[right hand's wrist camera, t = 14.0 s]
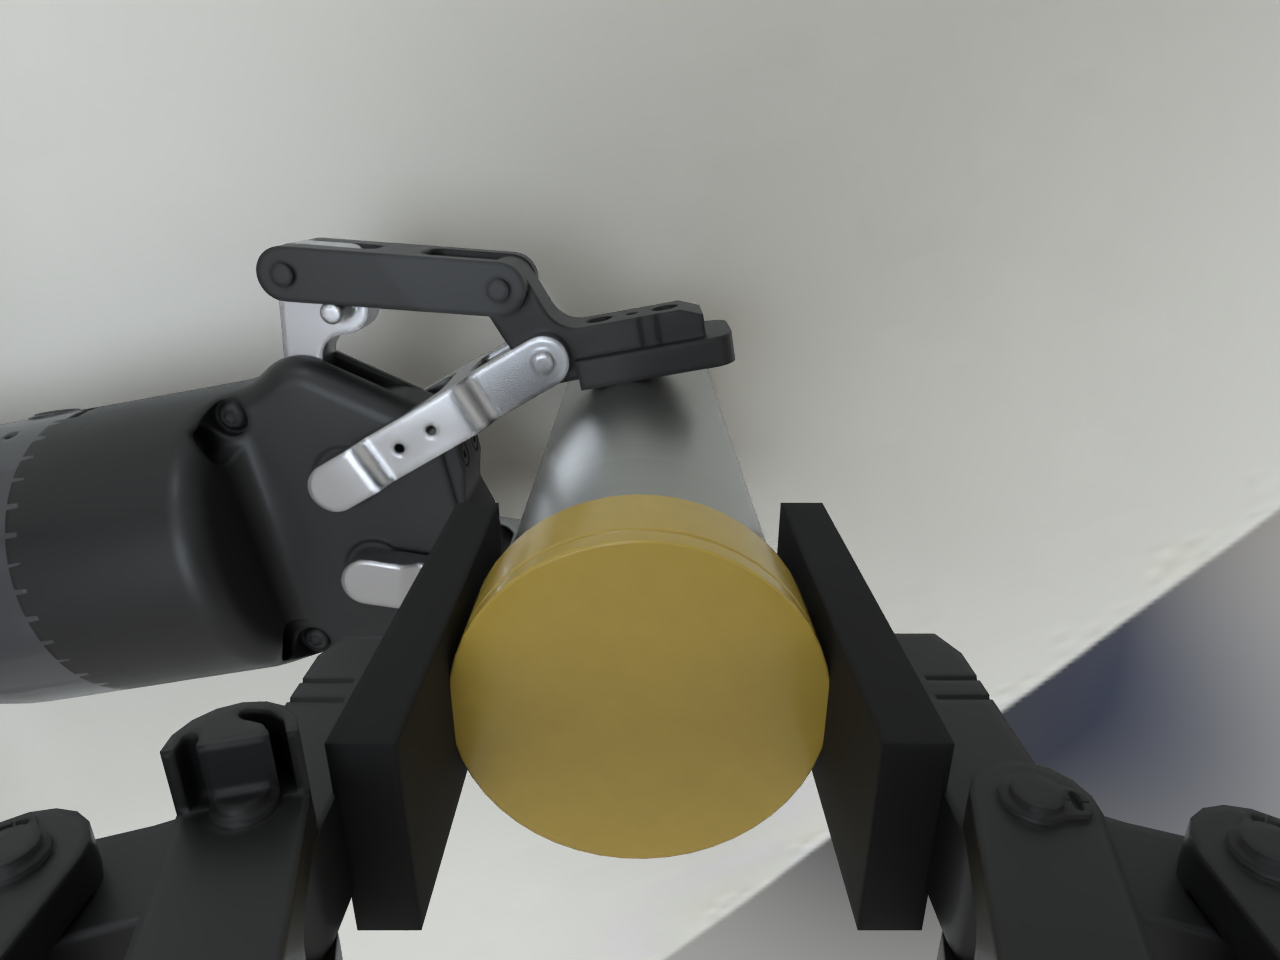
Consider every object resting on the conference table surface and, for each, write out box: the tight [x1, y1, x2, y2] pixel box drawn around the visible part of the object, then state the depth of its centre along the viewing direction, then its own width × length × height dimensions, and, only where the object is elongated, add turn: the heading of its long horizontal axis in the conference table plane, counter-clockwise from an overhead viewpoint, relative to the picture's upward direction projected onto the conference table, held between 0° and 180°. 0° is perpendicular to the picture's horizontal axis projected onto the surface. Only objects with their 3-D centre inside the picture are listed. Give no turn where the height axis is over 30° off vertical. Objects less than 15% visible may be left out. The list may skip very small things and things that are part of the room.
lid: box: [450, 494, 829, 859], centre depth 12 cm, size 5×5×2 cm
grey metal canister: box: [514, 369, 766, 542], centre depth 19 cm, size 5×5×16 cm
